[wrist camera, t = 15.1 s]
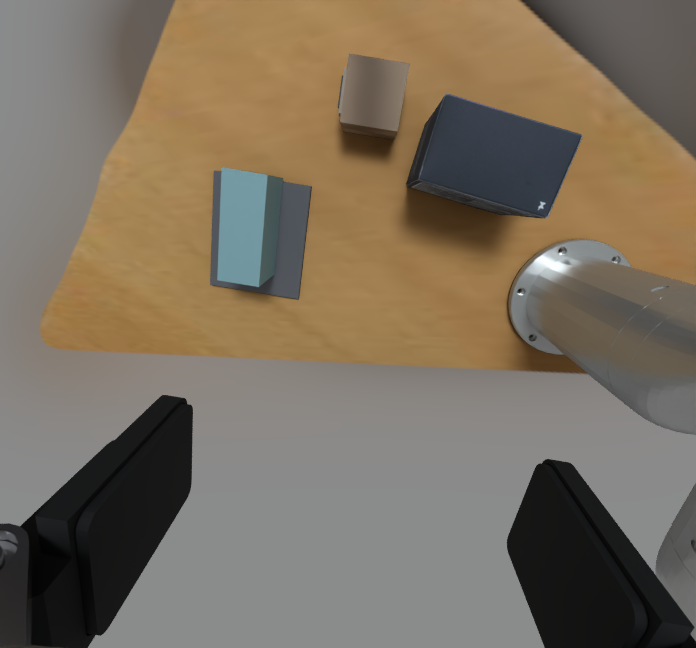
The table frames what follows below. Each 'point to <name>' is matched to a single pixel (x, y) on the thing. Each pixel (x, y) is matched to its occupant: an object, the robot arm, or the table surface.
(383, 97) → the wooden letter block
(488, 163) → the small box
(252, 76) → the table surface
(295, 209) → the dark gray block
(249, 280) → the teal rectangular block
